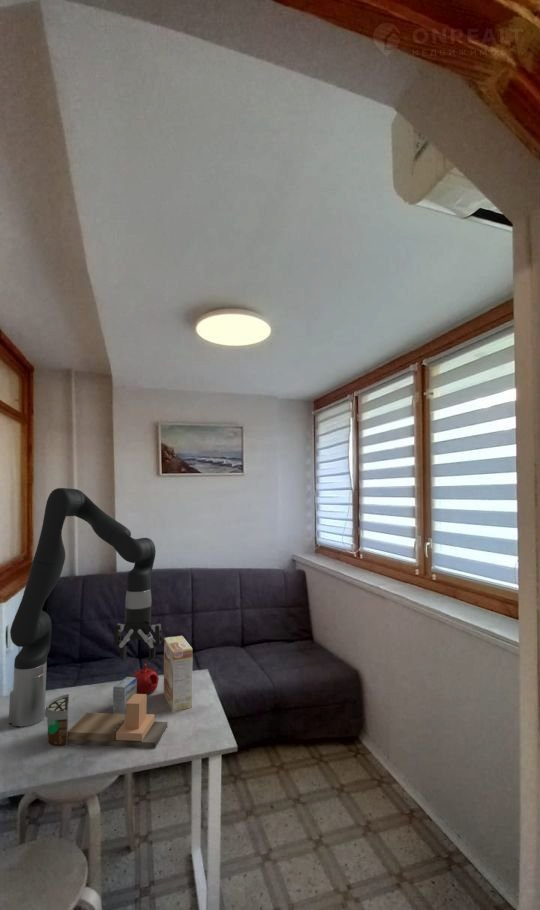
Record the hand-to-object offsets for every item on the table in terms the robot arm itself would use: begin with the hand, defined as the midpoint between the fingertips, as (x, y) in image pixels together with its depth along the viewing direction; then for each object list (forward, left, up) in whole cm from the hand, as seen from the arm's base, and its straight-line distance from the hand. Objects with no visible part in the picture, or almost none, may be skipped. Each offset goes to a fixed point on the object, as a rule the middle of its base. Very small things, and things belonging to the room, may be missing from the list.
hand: (137, 659), depth 129 cm
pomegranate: (-8, +29, -22) cm, 37 cm away
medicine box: (-10, +16, -22) cm, 29 cm away
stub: (0, 0, -20) cm, 20 cm away
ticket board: (-5, 0, -22) cm, 23 cm away
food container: (-23, -3, -22) cm, 32 cm away
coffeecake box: (+6, +23, -22) cm, 32 cm away
